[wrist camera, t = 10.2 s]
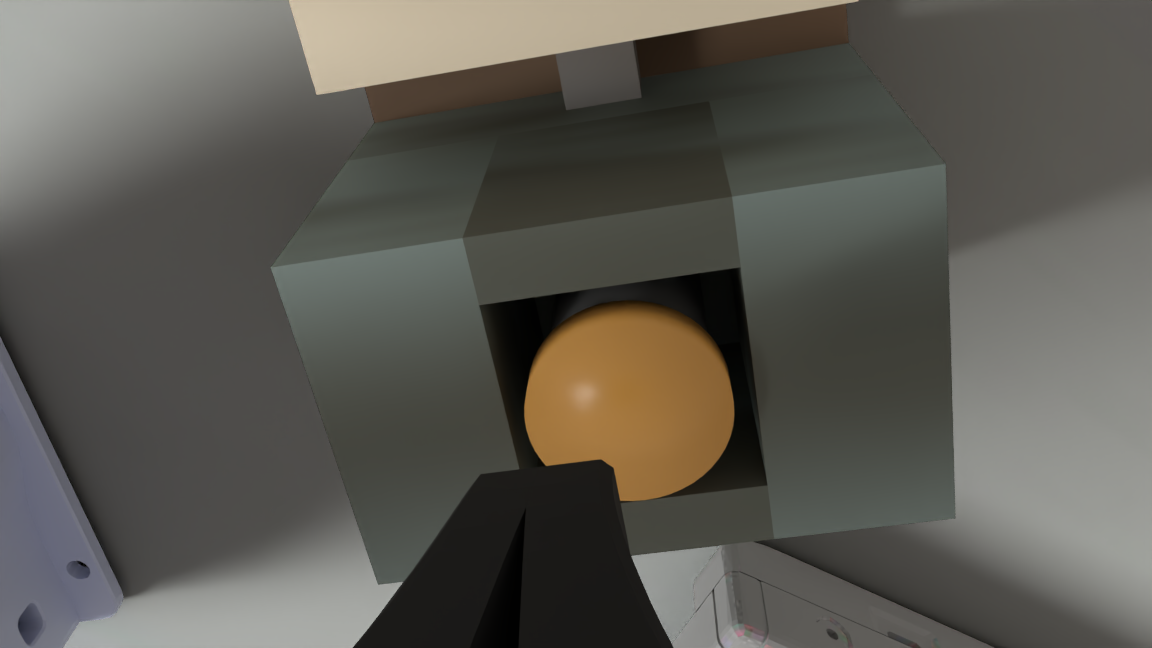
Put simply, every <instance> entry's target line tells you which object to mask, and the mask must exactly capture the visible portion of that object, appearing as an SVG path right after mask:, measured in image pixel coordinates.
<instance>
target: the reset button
mask: <svg viewBox="0 0 1152 648" xmlns="http://www.w3.org/2000/svg"><path fill="white" fill-rule="evenodd" d="M524 418H525V424H526V430H527V433H528V436H529V439H530V442H531V444H532V446H533V448H534V450H535V452H536V453H537V455H538V456H539V458H540V459H541V461H542V462H543V463H544V464H545V465H546V466H550V465H558V464H566V463H574V462H582V461H590V460H598V459H601V460H603V461H604V462H606V463H607V464H609V465H610V466H612V467H613V468H614V472H615V477H616V482H617V487H618V493H619V498H620V501H640V500H649V499H654V498H659V497H662V496H666V495H669V494H672V493H674V492H677V491H679V490H681V489H683V488H685V487H687V486H689V485H691V484H692V483H694V482H695V481H697V480H698V479H699V478H701V477H702V476H703V475H704V474H705V473H706V472H708V471H709V470H710V469H711V468H712V467H713V465H714V464H715V463H716V462H717V461H718V459H719V458H720V456H721V455H722V453H723V451H724V450H725V448H726V446H727V444H728V441H729V439H730V436H731V432H732V429H733V423H734V400H733V394H732V388H731V382H730V377H729V372H728V367H727V364H726V361H725V359H724V356H723V354H722V352H721V350H720V349H719V347H718V345H717V344H716V342H715V341H714V340H713V338H712V337H711V336H710V335H709V334H708V333H707V326H706V319H705V311H704V304H703V297H702V290H701V283H700V276H699V273H697V274H690V275H684V276H677V277H670V278H663V279H656V280H649V281H642V282H635V283H629V284H622V285H615V286H608V287H601V288H594V289H587V290H581V291H574V292H567V293H560V294H556V299H555V306H554V313H553V320H552V327H551V333H550V334H549V335H548V336H547V337H546V338H545V340H544V341H543V343H542V344H541V346H540V347H539V349H538V351H537V353H536V355H535V357H534V359H533V362H532V365H531V369H530V373H529V380H528V386H527V392H526V398H525V405H524Z"/></svg>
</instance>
